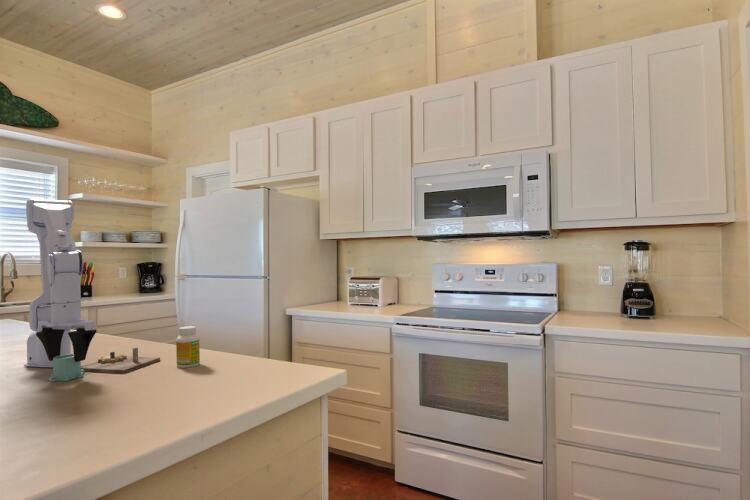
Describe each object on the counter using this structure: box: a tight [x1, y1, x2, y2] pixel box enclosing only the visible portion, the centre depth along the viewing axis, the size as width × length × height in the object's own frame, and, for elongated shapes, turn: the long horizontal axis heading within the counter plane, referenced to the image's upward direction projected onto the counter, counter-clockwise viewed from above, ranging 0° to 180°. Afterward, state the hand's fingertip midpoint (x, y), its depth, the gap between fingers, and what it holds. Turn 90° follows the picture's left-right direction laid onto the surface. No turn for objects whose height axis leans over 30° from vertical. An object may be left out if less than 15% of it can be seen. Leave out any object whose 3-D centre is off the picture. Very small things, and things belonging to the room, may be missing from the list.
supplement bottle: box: [175, 325, 201, 369], centre depth 108 cm, size 5×5×10 cm
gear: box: [49, 353, 85, 383], centre depth 99 cm, size 7×7×5 cm
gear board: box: [81, 347, 161, 374], centre depth 109 cm, size 14×12×4 cm
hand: (67, 360), depth 99 cm, fingers open, 7 cm apart
